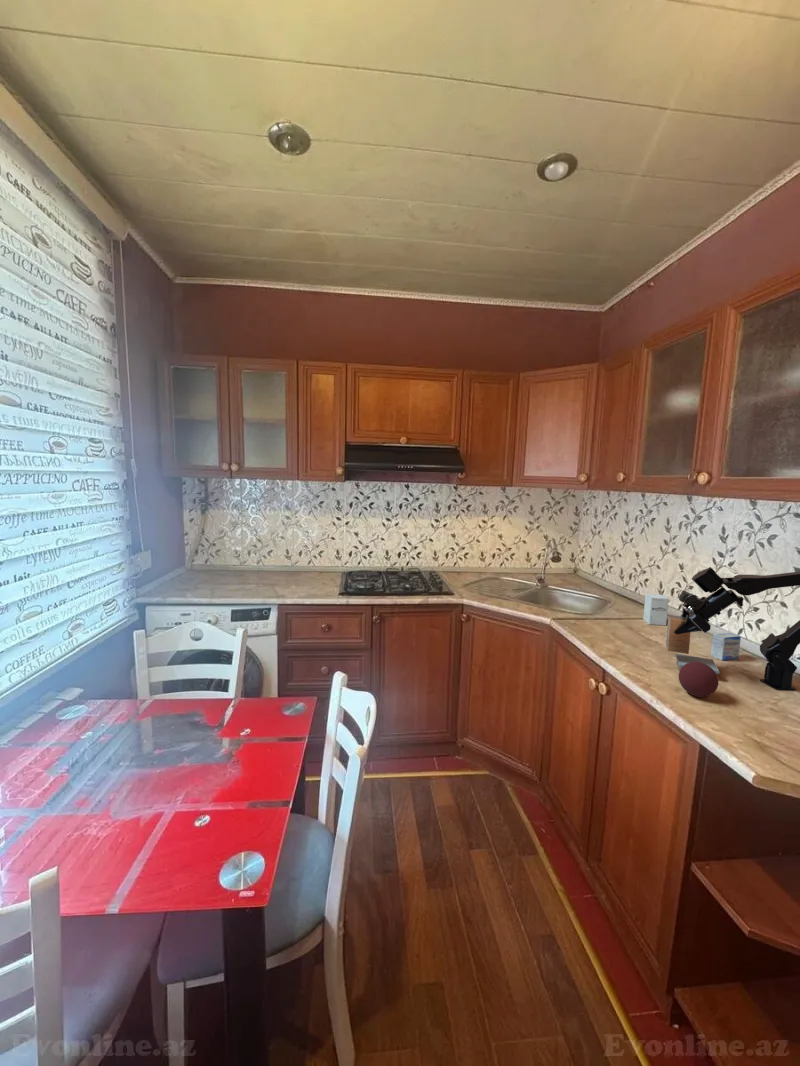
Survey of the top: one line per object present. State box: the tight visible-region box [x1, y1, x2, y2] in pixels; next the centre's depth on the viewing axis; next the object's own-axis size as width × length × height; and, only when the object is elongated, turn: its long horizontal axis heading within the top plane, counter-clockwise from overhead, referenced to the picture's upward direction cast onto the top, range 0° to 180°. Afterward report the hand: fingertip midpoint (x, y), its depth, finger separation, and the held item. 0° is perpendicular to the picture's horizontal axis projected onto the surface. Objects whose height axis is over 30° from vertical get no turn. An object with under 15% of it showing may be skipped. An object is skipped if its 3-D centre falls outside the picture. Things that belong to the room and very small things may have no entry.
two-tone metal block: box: [665, 614, 692, 655], centre depth 152 cm, size 6×6×11 cm
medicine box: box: [710, 632, 741, 661], centre depth 163 cm, size 8×4×9 cm, turn 105°
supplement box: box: [642, 593, 670, 626], centre depth 201 cm, size 7×7×13 cm
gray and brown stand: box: [675, 653, 720, 675], centre depth 151 cm, size 11×11×3 cm
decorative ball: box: [678, 662, 719, 698], centre depth 134 cm, size 10×10×10 cm
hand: (673, 630), depth 153 cm, fingers closed on two-tone metal block, 6 cm apart
